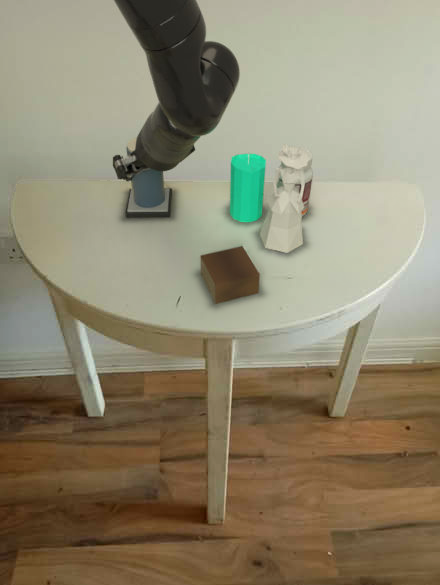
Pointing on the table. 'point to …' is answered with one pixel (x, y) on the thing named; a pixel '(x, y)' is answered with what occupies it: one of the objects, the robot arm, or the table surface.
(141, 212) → the scale
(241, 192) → the candle
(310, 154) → the pill bottle
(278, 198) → the figurine
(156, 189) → the canister
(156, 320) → the table surface
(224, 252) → the block
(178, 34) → the robot arm
